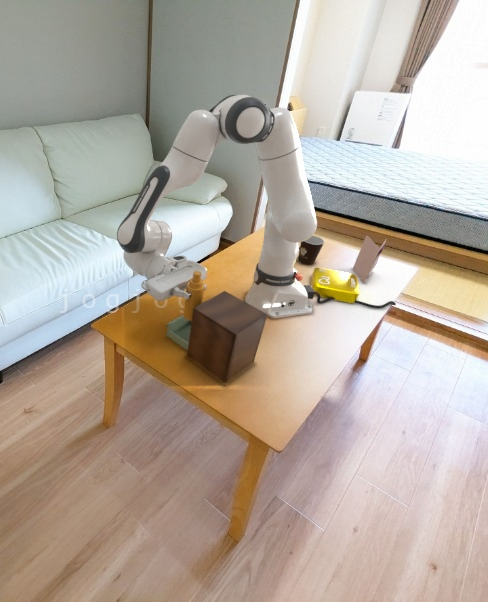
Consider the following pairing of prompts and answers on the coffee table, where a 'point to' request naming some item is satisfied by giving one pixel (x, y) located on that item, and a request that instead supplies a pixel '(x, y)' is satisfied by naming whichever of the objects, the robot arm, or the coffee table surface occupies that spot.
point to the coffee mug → (310, 250)
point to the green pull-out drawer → (179, 331)
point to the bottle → (194, 294)
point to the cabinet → (225, 335)
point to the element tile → (335, 285)
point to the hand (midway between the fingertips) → (197, 292)
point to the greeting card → (367, 259)
